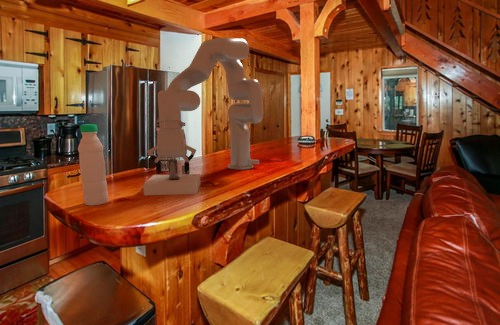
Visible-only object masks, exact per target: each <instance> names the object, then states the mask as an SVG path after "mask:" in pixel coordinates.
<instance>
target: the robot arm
mask: <svg viewBox="0 0 500 325" xmlns="http://www.w3.org/2000/svg"><path fill="white" fill-rule="evenodd" d="M249 54H250V46H249V44H248V42H247V41H246V39H244V38H241V37H240V38H239V37H238V38H237V37H217V38H212V39H206V40H204V41H202V43H200V45H199V48H198V50H197V51H196V53H195V55H194V56H193V59H192V60H191V63H189V65H188V67H186V68H185V69H184V70H182V71H181V72H180V73H179V74H177V76H175V77H174V78H173V79H172V81H171V82H170V83H169V84H168V86H167V89H166V90H165V89H164V90H160V91H159V92H157V105H158V118H159V123H160V130H158V134H157V138H156V140H157V141H156V143H157V144H156V146H154V147H152V148H150V149H148V150H147V151H146V152H147V154H148V156H149V158H150V159H151V160H152V161H153V162H154V163H155V170H156V172H157V175H161V173H162V172H163V171H162V168H161V161H160V159H161V158H176V159H177V158H181V159H183V160H184V163H183V165H184V166H185V173H187V172H188V170H190V161H191V160H192V159H193V158H194V157H195V154H196V152H197V149H196V148H193V147H192V146H190V145H188V144H187V137H186V132H185V129H184V128H183V127H186V122H183V121H182V112H192V111H195V110H197V109H198V108H199V107H200V104H201V97H200V96H199V94H198V93H197V92H196V91H194V90H189V89H191V88H192V87H195V86H197V85H201V83H204V82H206V80H208V79H209V78H210V76H211V74H212V72H213V70H214V67H215V65H216V64H217V62H219V63H220V64H221V66H222V68H223V69H224V72H225V76H226V84H227V91H228V96H229V98H230V99H231V100H233V101H248V102H236V103H232V104H230V105H229V107H228V108H227V117H228V121H229V122H228V123H229V129H230V134H229V135H230V163H229V164H227V168H228V169H231V170H237V171H238V170H239V171H240V170H250V169H253V168H254V164H255V165H259V164H260V159H252V158H251V147H250V146H251V144H250V143H251V142H250V141H251V132H250V128H249V127H248V125H247V124H258V123H261V122H262V120H263V119H264V102H263V91H262V86H261V84H260V82H259V80H258V79H255V78H246V76H245V69H244V68H245V67H244V66H243V64H242V63H241V61H242V60H243V61H244V60H245V59H247V58H248V57H249ZM155 151H156V154H157V156H158V157H157V156H155V154H154V152H155ZM188 152H191V153H190V155H189V156H188V155H187V153H188Z"/></svg>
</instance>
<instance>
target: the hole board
mask: <svg viewBox="0 0 500 325" xmlns="http://www.w3.org/2000/svg"><path fill="white" fill-rule="evenodd" d="M200 186H201V174H199V173H190V174H182V173H181V174H178V180H169V174H152V176H150V178H148V179H147V180H146V181H145V182H144V183H143V196H175V195H176V196H177V195H197V194H198V191H199V189H200Z"/></svg>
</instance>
